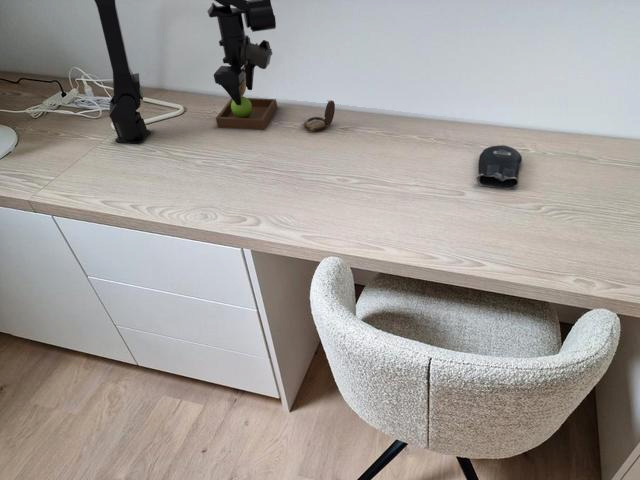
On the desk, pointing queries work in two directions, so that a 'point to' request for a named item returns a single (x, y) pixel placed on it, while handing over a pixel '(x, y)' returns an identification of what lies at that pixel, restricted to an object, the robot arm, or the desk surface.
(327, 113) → the compass
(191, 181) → the desk surface
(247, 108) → the green and brown figure
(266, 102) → the tray
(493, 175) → the black beanie hat
